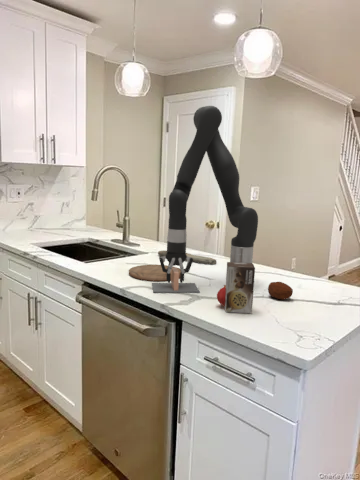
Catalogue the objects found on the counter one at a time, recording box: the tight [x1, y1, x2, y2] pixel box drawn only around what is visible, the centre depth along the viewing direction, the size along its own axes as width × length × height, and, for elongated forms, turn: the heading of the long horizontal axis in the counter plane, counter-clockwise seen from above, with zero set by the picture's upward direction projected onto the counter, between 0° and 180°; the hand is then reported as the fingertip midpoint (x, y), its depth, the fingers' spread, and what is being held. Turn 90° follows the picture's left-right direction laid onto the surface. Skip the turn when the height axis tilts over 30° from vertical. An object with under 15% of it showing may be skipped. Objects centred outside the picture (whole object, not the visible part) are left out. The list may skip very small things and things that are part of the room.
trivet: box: [128, 264, 181, 283], centre depth 175 cm, size 25×25×2 cm
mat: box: [151, 282, 201, 294], centre depth 154 cm, size 18×12×1 cm, turn 98°
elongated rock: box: [157, 250, 217, 266], centre depth 208 cm, size 35×5×10 cm
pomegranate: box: [216, 284, 226, 308], centre depth 134 cm, size 6×6×8 cm
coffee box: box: [224, 261, 256, 314], centre depth 131 cm, size 9×6×16 cm
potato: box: [267, 281, 294, 301], centre depth 147 cm, size 7×9×6 cm
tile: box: [170, 268, 180, 291], centre depth 153 cm, size 9×2×7 cm, turn 8°
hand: (175, 281), depth 154 cm, fingers open, 4 cm apart
